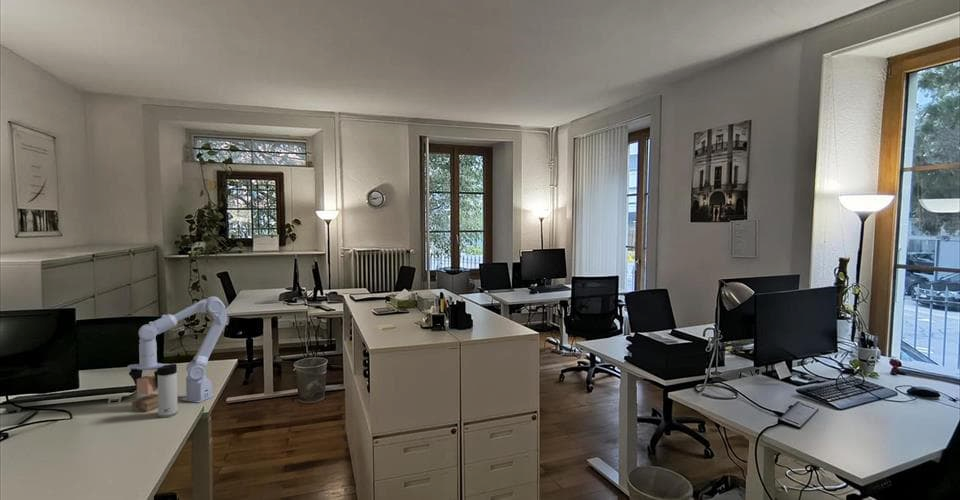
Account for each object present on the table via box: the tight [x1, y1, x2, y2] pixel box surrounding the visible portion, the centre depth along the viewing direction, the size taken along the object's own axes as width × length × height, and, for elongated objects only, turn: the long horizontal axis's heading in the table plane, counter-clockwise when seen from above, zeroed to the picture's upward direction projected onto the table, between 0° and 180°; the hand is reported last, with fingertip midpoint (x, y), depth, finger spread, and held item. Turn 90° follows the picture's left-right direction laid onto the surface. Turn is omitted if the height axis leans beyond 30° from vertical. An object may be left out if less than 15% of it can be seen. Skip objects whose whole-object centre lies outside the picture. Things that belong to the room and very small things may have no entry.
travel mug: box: [157, 363, 179, 419], centre depth 176 cm, size 6×7×20 cm
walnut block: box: [131, 393, 158, 413], centre depth 184 cm, size 8×8×4 cm
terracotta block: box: [136, 374, 158, 396], centre depth 183 cm, size 6×6×6 cm
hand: (148, 387), depth 183 cm, fingers closed on terracotta block, 7 cm apart
